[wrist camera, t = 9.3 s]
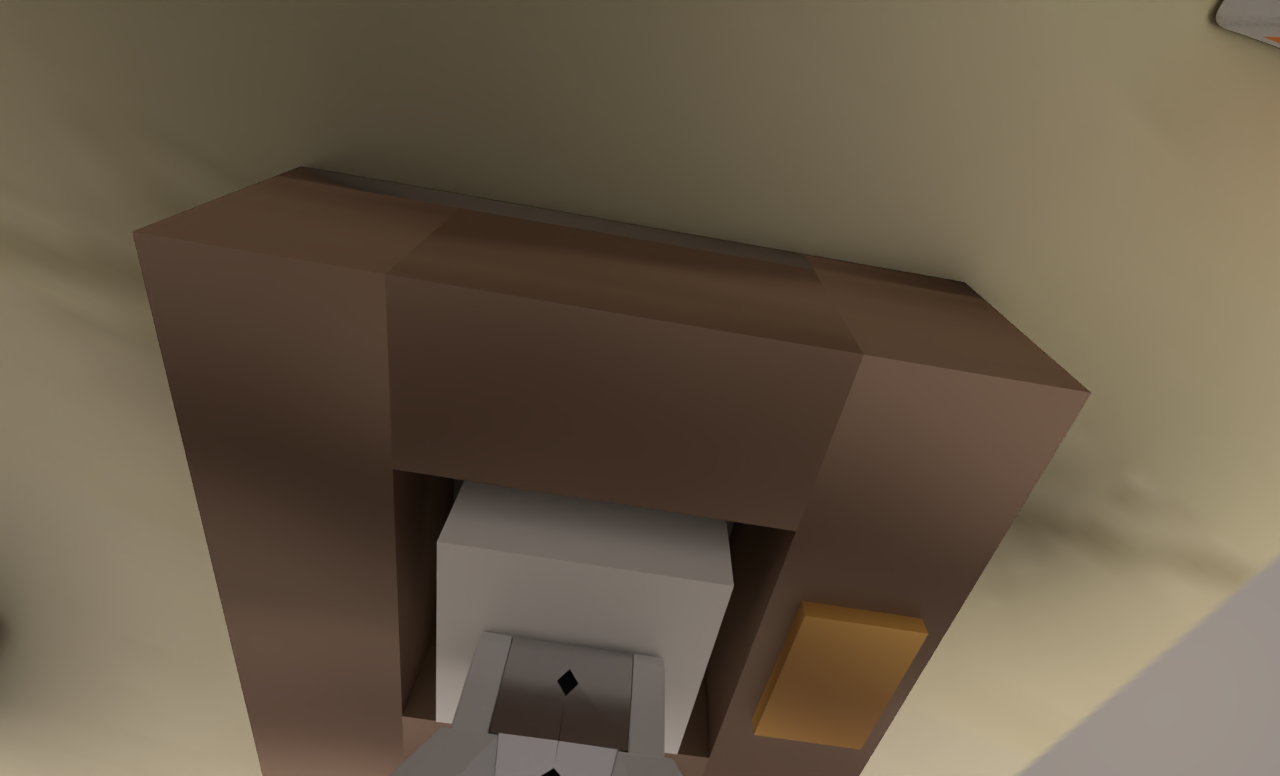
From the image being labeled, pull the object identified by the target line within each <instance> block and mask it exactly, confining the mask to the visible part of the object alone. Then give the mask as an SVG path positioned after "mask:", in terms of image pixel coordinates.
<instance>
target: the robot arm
mask: <svg viewBox="0 0 1280 776" xmlns="http://www.w3.org/2000/svg"><path fill="white" fill-rule="evenodd" d="M664 739H665V663H664V661H663V658H661V657H654V656H646V655H639V654H633V655H632V653H631V652H623V651H616V650H608V649H600V648H593V647H585V646H577V645H573V646H569V645H563V644H557V643H551V642H545V641H540V640H534V639H528V638H522V637H516V636H511V635H504V634H497V633H491V632H484V631H483V632H482V634H481V636H480V638H479V640H478V642H477V645H476V648H475V651H474V655H473V658H472V661H471V664H470V667H469V670H468V674H467V677H466V680H465V683H464V686H463V690H462V693H461V696H460V699H459V702H458V706H457V709H456V712H455V715H454V718H453V721H452V725H451V728H448V727H440V728H439V729H438V730H437V731H436V732H435V733H434V734H433V735H432V736H431V737H430V738H428V739H427V740H426V741H425V742H424V743H423V744H422V745H421V746H420V747H419V748H418V749H417V750H416V751H414V752H413V753H412V754H411V755H410V756H409V757H408V758H407V759H406V760H405V761H404V762H403V763H402V764H401V765H399V766H398V767H397V768H396V769H395V770H394V771H393V772H392V773H391V774H390V775H389V776H683V775H682V773H681V771H680V770H679V768H678V766H677V764H676V763H675V761H674V759H670V758H664Z"/></svg>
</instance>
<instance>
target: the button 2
mask: <svg viewBox="0 0 1280 776" xmlns="http://www.w3.org/2000/svg"><path fill="white" fill-rule="evenodd" d="M733 587H734V583H733V574H732V565H731V556H730V548H729V539H728V530H727V522H726V520H719V519H713V518H706V517H700V516H693V515H687V514H680V513H674V512H667V511H661V510H654V509H648V508H641V507H635V506H628V505H622V504H615V503H609V502H602V501H596V500H589V499H583V498H576V497H570V496H563V495H557V494H550V493H544V492H537V491H531V490H525V489H518V488H512V487H505V486H499V485H492V484H486V483H479V482H473V481H466V480H464V482H463V485H462V487H461V489H460V491H459V494H458V496H457V498H456V500H455V503H454V505H453V507H452V509H451V511H450V514H449V516H448V518H447V520H446V523H445V525H444V527H443V529H442V531H441V534H440V536H439V538H438V540H437V614H436V722H443V723H450V724H452V721H453V718H454V715H455V712H456V709H457V706H458V702H459V699H460V696H461V693H462V690H463V686H464V683H465V680H466V677H467V674H468V670H469V667H470V664H471V661H472V658H473V655H474V651H475V648H476V645H477V642H478V640H479V638H480V636H481V634H482V632H483V631H484V632H491V633H497V634H504V635H511V636H516V637H522V638H528V639H534V640H540V641H545V642H551V643H557V644H563V645H569V646H573V645H577V646H585V647H593V648H600V649H608V650H616V651H623V652H631V653H632V655H633V654H639V655H646V656H654V657H661V658H663V661H664V663H665V739H664V753H670V754H677V753H678V750H679V747H680V744H681V742H682V739H683V736H684V733H685V730H686V727H687V724H688V721H689V718H690V715H691V712H692V709H693V706H694V703H695V700H696V697H697V694H698V691H699V688H700V685H701V682H702V679H703V676H704V673H705V670H706V667H707V664H708V661H709V658H710V656H711V653H712V650H713V647H714V644H715V641H716V638H717V635H718V632H719V629H720V626H721V623H722V620H723V617H724V614H725V611H726V608H727V605H728V602H729V599H730V596H731V593H732V590H733Z"/></svg>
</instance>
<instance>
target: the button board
mask: <svg viewBox="0 0 1280 776" xmlns="http://www.w3.org/2000/svg"><path fill="white" fill-rule="evenodd" d="M132 233H133V237H134V241H135V245H136V249H137V253H138V258H139V262H140V266H141V270H142V274H143V278H144V283H145V287H146V291H147V295H148V299H149V303H150V308H151V312H152V316H153V320H154V324H155V328H156V333H157V337H158V341H159V345H160V349H161V353H162V358H163V362H164V366H165V370H166V374H167V378H168V383H169V387H170V391H171V395H172V399H173V403H174V408H175V412H176V416H177V420H178V424H179V428H180V433H181V437H182V441H183V445H184V449H185V453H186V458H187V462H188V466H189V470H190V474H191V478H192V483H193V487H194V491H195V495H196V499H197V503H198V508H199V512H200V516H201V520H202V524H203V528H204V533H205V537H206V541H207V545H208V549H209V553H210V558H211V562H212V566H213V570H214V574H215V578H216V583H217V587H218V591H219V595H220V599H221V603H222V608H223V612H224V616H225V620H226V624H227V628H228V633H229V637H230V641H231V645H232V649H233V653H234V658H235V662H236V666H237V670H238V674H239V678H240V683H241V687H242V691H243V695H244V699H245V703H246V708H247V712H248V716H249V720H250V724H251V728H252V733H253V737H254V741H255V745H256V749H257V753H258V758H259V762H260V766H261V770H262V774H263V776H389V775H390V774H391V773H392V772H393V771H394V770H395V769H396V768H397V767H398V766H399V765H401V764H402V763H403V762H404V761H405V760H406V759H407V758H408V757H409V756H410V755H411V754H412V753H413V752H414V751H416V750H417V749H418V748H419V747H420V746H421V745H422V744H423V743H424V742H425V741H426V740H427V739H428V738H430V737H431V736H432V735H433V734H434V733H435V732H436V731H437V730H438V729H439V728H440V727H448V728H451V725H452V724H450V723H443V722H436V614H437V540H438V538H439V536H440V534H441V531H442V529H443V527H444V525H445V523H446V520H447V518H448V516H449V514H450V511H451V509H452V507H453V505H454V503H455V500H456V498H457V496H458V494H459V491H460V489H461V487H462V485H463V482H464V480H466V481H473V482H479V483H486V484H492V485H499V486H505V487H512V488H518V489H525V490H531V491H537V492H544V493H550V494H557V495H563V496H570V497H576V498H583V499H589V500H596V501H602V502H609V503H615V504H622V505H628V506H635V507H641V508H648V509H654V510H661V511H667V512H674V513H680V514H687V515H693V516H700V517H706V518H713V519H719V520H726V522H727V530H728V539H729V548H730V556H731V565H732V574H733V583H734V587H733V590H732V593H731V596H730V599H729V602H728V605H727V608H726V611H725V614H724V617H723V620H722V623H721V626H720V629H719V632H718V635H717V638H716V641H715V644H714V647H713V650H712V653H711V656H710V658H709V661H708V664H707V667H706V670H705V673H704V676H703V679H702V682H701V685H700V688H699V691H698V694H697V697H696V700H695V703H694V706H693V709H692V712H691V715H690V718H689V721H688V724H687V727H686V730H685V733H684V736H683V739H682V742H681V744H680V747H679V750H678V753H677V754H670V753H664V758H670V759H674V761H675V763H676V764H677V766H678V768H679V770H680V771H681V773H682V775H683V776H859V775H860V774H861V772H862V770H863V769H864V767H865V765H866V764H867V762H868V760H869V759H870V757H871V755H872V754H873V752H874V750H875V749H876V747H877V745H878V744H879V742H880V740H881V739H882V737H883V736H884V734H885V732H886V731H887V729H888V727H889V726H890V724H891V722H892V721H893V719H894V717H895V716H896V714H897V712H898V711H899V709H900V707H901V706H902V704H903V703H904V701H905V699H906V698H907V696H908V694H909V693H910V691H911V689H912V688H913V686H914V684H915V683H916V681H917V679H918V678H919V676H920V674H921V673H922V671H923V669H924V668H925V666H926V665H927V663H928V661H929V660H930V658H931V656H932V655H933V653H934V651H935V650H936V648H937V646H938V645H939V643H940V641H941V640H942V638H943V636H944V635H945V633H946V632H947V630H948V628H949V627H950V625H951V623H952V622H953V620H954V618H955V617H956V615H957V613H958V612H959V610H960V608H961V607H962V605H963V603H964V602H965V600H966V598H967V597H968V595H969V594H970V592H971V590H972V589H973V587H974V585H975V584H976V582H977V580H978V579H979V577H980V575H981V574H982V572H983V570H984V569H985V567H986V565H987V564H988V562H989V561H990V559H991V557H992V556H993V554H994V552H995V551H996V549H997V547H998V546H999V544H1000V542H1001V541H1002V539H1003V537H1004V536H1005V534H1006V532H1007V531H1008V529H1009V527H1010V526H1011V524H1012V523H1013V521H1014V519H1015V518H1016V516H1017V514H1018V513H1019V511H1020V509H1021V508H1022V506H1023V504H1024V503H1025V501H1026V499H1027V498H1028V496H1029V494H1030V493H1031V491H1032V489H1033V488H1034V486H1035V485H1036V483H1037V481H1038V480H1039V478H1040V476H1041V475H1042V473H1043V471H1044V470H1045V468H1046V466H1047V465H1048V463H1049V461H1050V460H1051V458H1052V456H1053V455H1054V453H1055V452H1056V450H1057V448H1058V447H1059V445H1060V443H1061V442H1062V440H1063V438H1064V437H1065V435H1066V433H1067V432H1068V430H1069V428H1070V427H1071V425H1072V423H1073V422H1074V420H1075V418H1076V417H1077V415H1078V414H1079V412H1080V410H1081V409H1082V407H1083V405H1084V404H1085V402H1086V400H1087V399H1088V397H1089V395H1090V394H1091V392H1089V391H1088V390H1087V389H1086V388H1085V387H1084V386H1083V385H1081V384H1080V383H1079V382H1078V381H1077V380H1076V379H1075V378H1073V377H1072V376H1071V375H1070V374H1069V373H1068V372H1067V371H1065V370H1064V369H1063V368H1062V367H1061V366H1060V365H1059V364H1057V363H1056V362H1055V361H1054V360H1053V359H1052V358H1051V357H1049V356H1048V355H1047V354H1046V353H1045V352H1044V351H1043V350H1041V349H1040V348H1039V347H1038V346H1037V345H1036V344H1035V343H1033V342H1032V341H1031V340H1030V339H1029V338H1028V337H1027V336H1025V335H1024V334H1023V333H1022V332H1021V331H1020V330H1019V329H1017V328H1016V327H1015V326H1014V325H1013V324H1012V323H1011V322H1009V321H1008V320H1007V319H1006V318H1005V317H1004V316H1003V315H1001V314H1000V313H999V312H998V311H997V310H996V309H995V308H993V307H992V306H991V305H990V304H989V303H988V302H987V301H985V300H984V299H983V298H982V297H981V296H980V295H979V294H977V293H976V292H975V291H974V290H973V289H972V288H971V287H969V286H968V285H967V284H966V283H964V282H958V281H953V280H947V279H941V278H936V277H930V276H924V275H918V274H913V273H907V272H901V271H896V270H890V269H884V268H878V267H873V266H867V265H861V264H856V263H850V262H844V261H838V260H833V259H827V258H821V257H815V256H810V255H804V254H798V253H793V252H787V251H781V250H775V249H770V248H764V247H758V246H753V245H747V244H741V243H735V242H730V241H724V240H718V239H713V238H707V237H701V236H695V235H690V234H684V233H678V232H673V231H667V230H661V229H655V228H650V227H644V226H638V225H632V224H627V223H621V222H615V221H610V220H604V219H598V218H592V217H587V216H581V215H575V214H570V213H564V212H558V211H552V210H547V209H541V208H535V207H530V206H524V205H518V204H512V203H507V202H501V201H495V200H490V199H484V198H478V197H472V196H467V195H461V194H455V193H449V192H444V191H438V190H432V189H427V188H421V187H415V186H409V185H404V184H398V183H392V182H387V181H381V180H375V179H369V178H364V177H358V176H352V175H347V174H341V173H335V172H329V171H324V170H318V169H312V168H307V167H298V168H296V169H293V170H291V171H288V172H285V173H283V174H280V175H278V176H275V177H272V178H270V179H267V180H265V181H262V182H260V183H257V184H254V185H252V186H249V187H247V188H244V189H241V190H239V191H236V192H234V193H231V194H228V195H226V196H223V197H221V198H218V199H216V200H213V201H210V202H208V203H205V204H203V205H200V206H197V207H195V208H192V209H190V210H187V211H184V212H182V213H179V214H177V215H174V216H172V217H169V218H166V219H164V220H161V221H159V222H156V223H153V224H151V225H148V226H146V227H143V228H140V229H138V230H135V231H133V232H132Z"/></svg>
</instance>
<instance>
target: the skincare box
mask: <svg viewBox="0 0 1280 776" xmlns="http://www.w3.org/2000/svg"><path fill="white" fill-rule="evenodd" d="M1216 21H1217V24H1218V25H1220V26H1221V27H1223V28H1225V29H1227V30H1230V31H1233V32H1237V33H1240V34H1243V35H1246V36H1249V37H1251V38H1254V39H1257V40H1260V41H1262V42H1265V43H1268V44H1271V45H1273V46H1276V47H1278V48H1280V0H1224V1H1223V2H1222V4H1221V5H1220V7H1219V9H1218V11H1217V14H1216Z"/></svg>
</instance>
